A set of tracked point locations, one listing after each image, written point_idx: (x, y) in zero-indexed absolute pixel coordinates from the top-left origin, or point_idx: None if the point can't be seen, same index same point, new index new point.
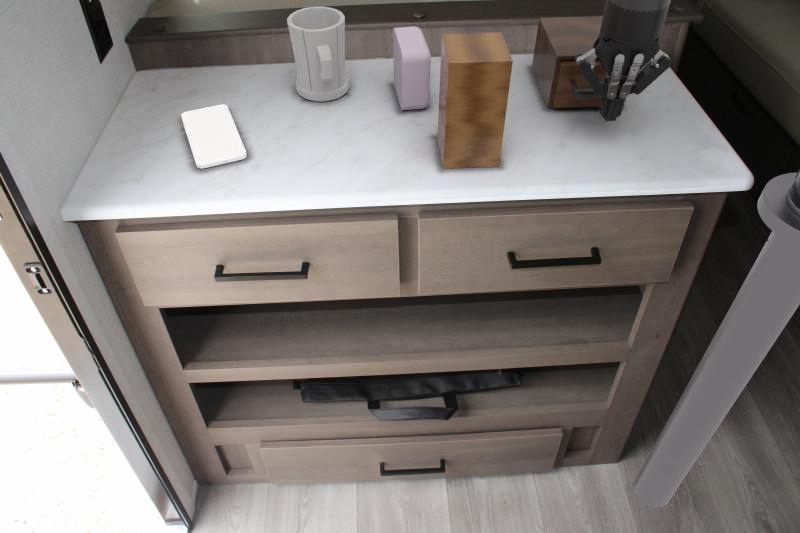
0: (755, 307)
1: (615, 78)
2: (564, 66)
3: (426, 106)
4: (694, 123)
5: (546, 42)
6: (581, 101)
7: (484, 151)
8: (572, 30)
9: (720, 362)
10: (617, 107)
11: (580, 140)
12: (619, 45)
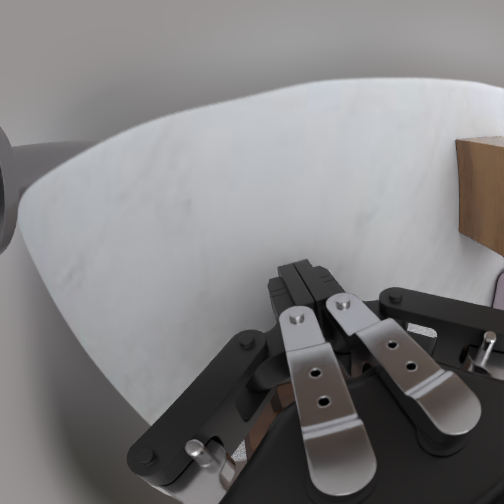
0: (59, 146)
1: (389, 338)
2: None
3: (502, 276)
4: (100, 347)
5: None
6: None
7: (493, 141)
8: None
9: (99, 143)
10: (294, 286)
11: (323, 249)
12: (473, 467)
